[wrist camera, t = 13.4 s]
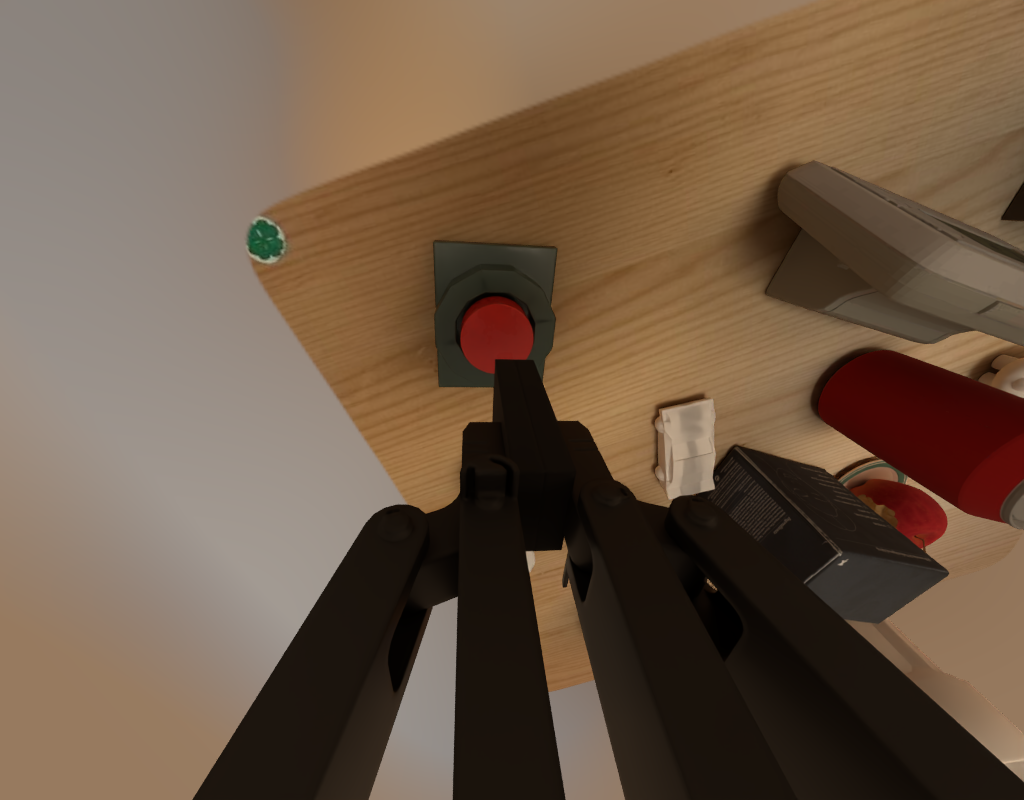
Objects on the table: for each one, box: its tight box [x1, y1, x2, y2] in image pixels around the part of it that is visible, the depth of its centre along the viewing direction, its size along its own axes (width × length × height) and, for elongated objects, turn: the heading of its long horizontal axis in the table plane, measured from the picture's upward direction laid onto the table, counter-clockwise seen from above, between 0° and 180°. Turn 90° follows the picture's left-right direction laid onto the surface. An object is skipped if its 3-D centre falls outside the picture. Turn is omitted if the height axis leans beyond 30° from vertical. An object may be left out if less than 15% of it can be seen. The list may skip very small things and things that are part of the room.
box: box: [697, 446, 949, 624], centre depth 29 cm, size 11×7×10 cm, turn 70°
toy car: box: [655, 398, 716, 500], centre depth 29 cm, size 5×8×2 cm, turn 12°
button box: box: [433, 240, 557, 387], centre depth 22 cm, size 9×7×2 cm
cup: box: [845, 618, 1024, 782], centre depth 33 cm, size 11×11×17 cm
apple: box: [838, 459, 947, 553], centre depth 32 cm, size 8×8×6 cm
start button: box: [460, 296, 534, 373], centre depth 21 cm, size 4×4×2 cm
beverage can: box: [818, 350, 1024, 530], centre depth 24 cm, size 7×7×12 cm
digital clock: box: [766, 161, 1024, 346], centre depth 19 cm, size 16×9×11 cm, turn 63°
